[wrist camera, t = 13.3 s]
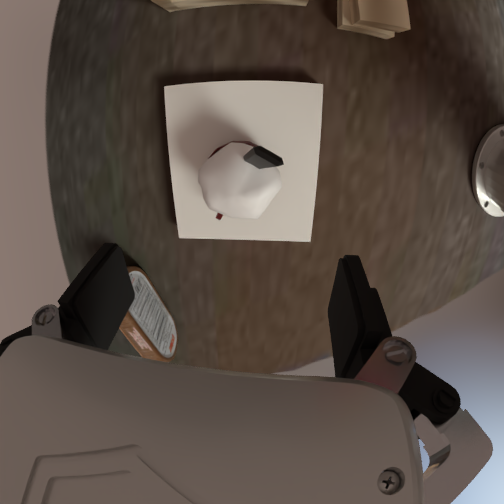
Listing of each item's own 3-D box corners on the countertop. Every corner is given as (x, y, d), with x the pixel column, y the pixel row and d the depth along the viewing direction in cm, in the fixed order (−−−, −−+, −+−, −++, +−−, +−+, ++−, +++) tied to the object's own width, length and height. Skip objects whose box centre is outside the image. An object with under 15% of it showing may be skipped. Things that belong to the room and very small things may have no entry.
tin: (120, 256, 35) (91, 298, 28) (138, 251, 34) (111, 295, 27) (169, 332, 42) (155, 375, 35) (186, 330, 42) (173, 375, 35)
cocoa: (231, 212, 29) (208, 299, 19) (188, 168, 26) (138, 237, 16) (309, 158, 25) (333, 227, 15) (266, 105, 22) (261, 135, 12)
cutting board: (319, 84, 22) (323, 84, 21) (308, 232, 31) (310, 241, 29) (171, 86, 23) (164, 86, 21) (183, 229, 32) (179, 238, 30)
